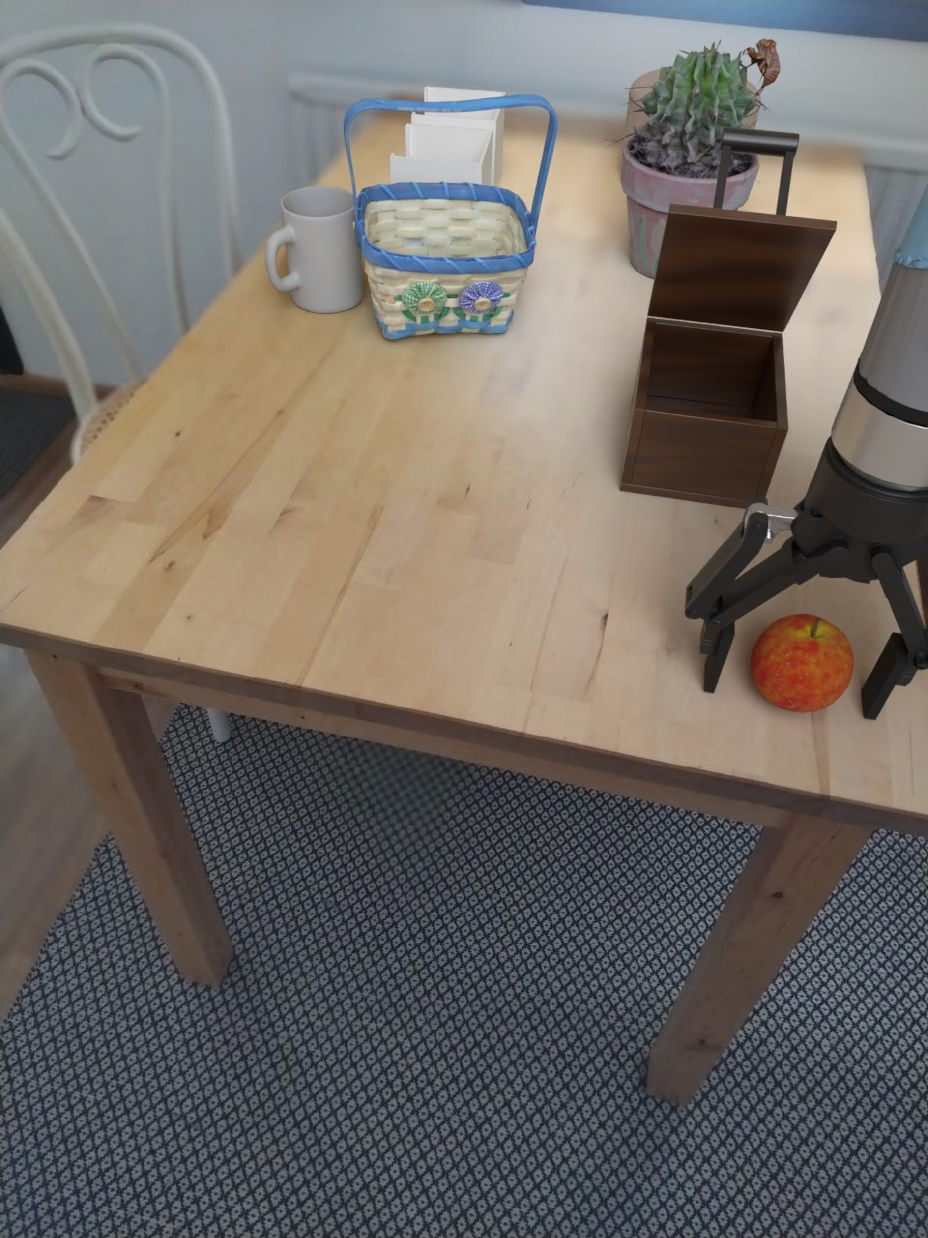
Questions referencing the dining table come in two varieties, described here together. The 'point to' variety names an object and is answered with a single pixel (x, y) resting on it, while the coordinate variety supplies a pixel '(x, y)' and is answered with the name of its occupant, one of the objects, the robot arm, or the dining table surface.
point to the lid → (739, 250)
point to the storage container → (452, 143)
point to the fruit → (802, 663)
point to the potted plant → (689, 142)
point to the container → (649, 80)
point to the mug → (318, 250)
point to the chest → (706, 413)
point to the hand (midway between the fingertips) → (787, 691)
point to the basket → (446, 238)
